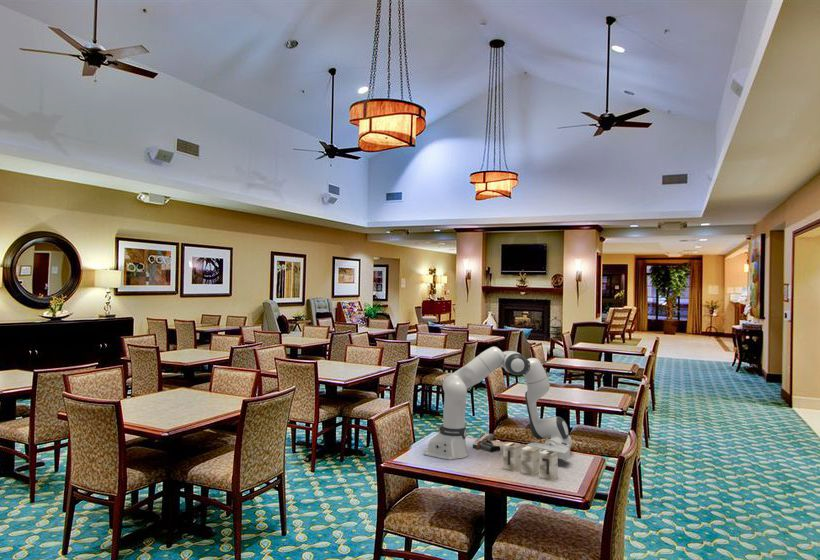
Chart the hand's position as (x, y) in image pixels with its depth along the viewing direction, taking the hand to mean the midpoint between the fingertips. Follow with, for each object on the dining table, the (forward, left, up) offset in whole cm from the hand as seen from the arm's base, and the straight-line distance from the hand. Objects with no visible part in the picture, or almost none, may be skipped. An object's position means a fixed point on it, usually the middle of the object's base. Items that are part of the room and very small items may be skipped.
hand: (541, 454), depth 244 cm
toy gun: (-30, +27, -6) cm, 41 cm away
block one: (-12, -8, -6) cm, 16 cm away
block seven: (+5, -14, -6) cm, 16 cm away
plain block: (-4, -11, -6) cm, 13 cm away
